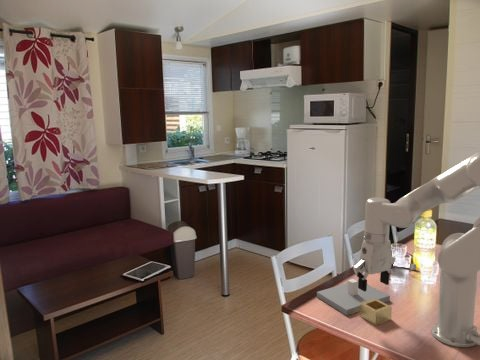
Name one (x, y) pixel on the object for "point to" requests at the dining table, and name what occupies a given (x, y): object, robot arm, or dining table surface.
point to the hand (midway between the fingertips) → (373, 286)
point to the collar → (375, 311)
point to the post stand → (350, 296)
